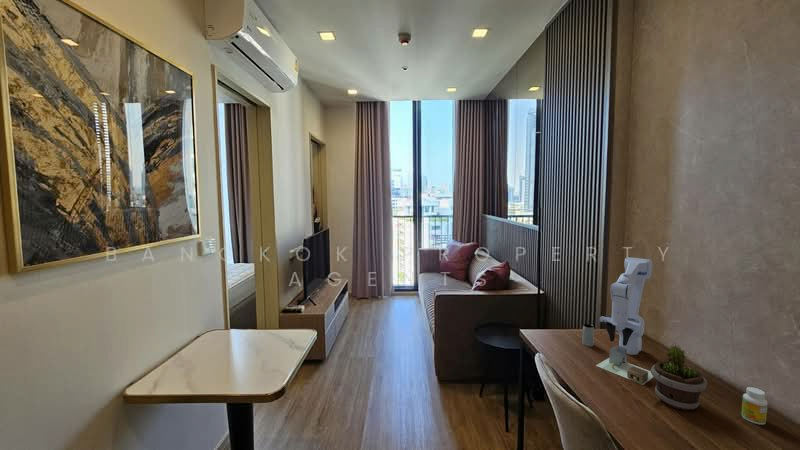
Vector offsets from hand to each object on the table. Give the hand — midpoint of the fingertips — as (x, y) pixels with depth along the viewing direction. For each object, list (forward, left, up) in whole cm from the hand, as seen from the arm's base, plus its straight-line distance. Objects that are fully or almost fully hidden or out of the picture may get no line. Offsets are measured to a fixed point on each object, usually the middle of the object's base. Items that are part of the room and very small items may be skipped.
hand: (618, 342), depth 138 cm
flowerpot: (+10, +23, -10) cm, 27 cm away
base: (+4, +5, -10) cm, 11 cm away
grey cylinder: (-7, -16, -10) cm, 20 cm away
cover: (+7, +10, -9) cm, 15 cm away
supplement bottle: (+1, +40, -10) cm, 41 cm away
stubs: (+8, +10, -9) cm, 15 cm away
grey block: (0, 0, -9) cm, 9 cm away
